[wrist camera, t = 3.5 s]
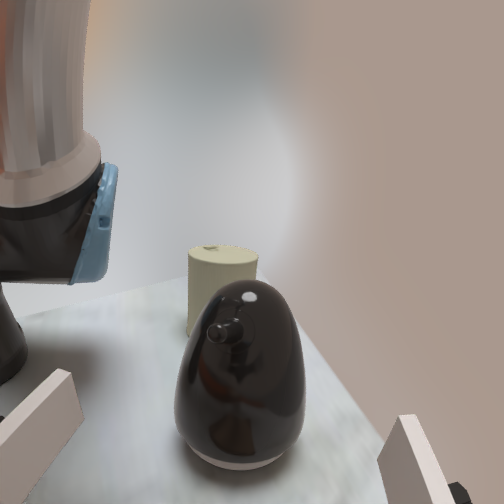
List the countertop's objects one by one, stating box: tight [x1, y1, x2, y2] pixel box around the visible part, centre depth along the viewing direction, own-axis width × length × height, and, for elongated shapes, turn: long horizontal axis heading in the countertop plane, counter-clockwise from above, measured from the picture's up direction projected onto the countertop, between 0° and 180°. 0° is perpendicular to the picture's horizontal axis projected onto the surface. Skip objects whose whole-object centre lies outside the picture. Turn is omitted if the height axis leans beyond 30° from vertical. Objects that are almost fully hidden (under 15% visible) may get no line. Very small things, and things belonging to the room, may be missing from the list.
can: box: [187, 245, 258, 337], centre depth 42 cm, size 9×9×12 cm
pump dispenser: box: [174, 279, 306, 470], centre depth 21 cm, size 10×10×15 cm
